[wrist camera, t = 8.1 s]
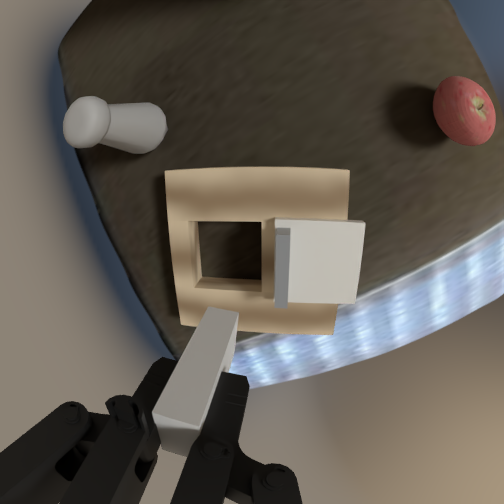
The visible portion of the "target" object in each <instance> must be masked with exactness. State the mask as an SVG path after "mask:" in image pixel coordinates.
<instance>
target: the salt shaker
mask: <svg viewBox="0 0 504 504" xmlns="http://www.w3.org/2000/svg"><path fill="white" fill-rule="evenodd" d="M167 131H168V128H167V125H166V117H165V115H164V113H163V112H162V110H161V108H159V107H157V106H155V105H154V104H152V103H127V104H110V105H107V103H106V102H105V101H104V100H102V99H100V98H98V97H94V96H87V97H81V98H78V99H77V100H76V101H75V102H74V103H72V104H71V106H70V108H69V109H68V111H67V113H66V114H65V118H64V122H63V133H64V136H65V139H66V141H67V142H68V143H69V144H70V145H71V146H73V147H75V148H88V147H93V146H94V145H96V144H97V143H100V144H104V145H107V146H111V147H114V148H117V149H120V150H124V151H127V152H130V153H133V154H144V153H147V152H149V151H151V150H153V149H155V148H156V147H157V146H158V145H159V144H160V143H161V141H162V140H163V138H164V136H165V134H166V132H167Z"/></svg>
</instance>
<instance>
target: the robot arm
mask: <svg viewBox="0 0 504 504" xmlns="http://www.w3.org/2000/svg"><path fill="white" fill-rule="evenodd" d="M238 317H239V312H234V311H229V310H224V309H219V308H214V307H209V306H208V308H207V310H206V312H205V314H204V315H203V317H202V319H201V321H200V323H199V325H198V326H197V328H196V330H195V332H194V334H193V336H192V338H191V339H190V341H189V343H188V345H187V347H186V349H185V351H184V352H183V354H182V356H181V358H180V360H179V361H175V360H172V359H168V358H165V357H162V358H160V359H159V360H158V361H156V362H154V363H153V364H152V366H151V368H150V369H149V371H148V373H147V374H146V375H145V377H144V379H143V381H142V382H141V383H140V385H139V387H138V388H137V390H136V391H135V393H134V395H133V396H132V397H131V396H126V395H117V396H114V397H112V398H110V399H108V401H106V402H105V404H106V407H107V409H108V411H109V414H110V415H108V414H99V413H93V412H88V411H87V409H86V408H85V407H84V406H83V405H82V404H80V403H78V402H74V401H71V402H66V403H64V404H62V405H60V406H59V407H58V408H56V409H55V410H54V411H53V412H51V413H50V414H49V415H48V416H46V417H45V418H44V419H42V420H41V421H40V422H39V423H38V424H36V425H35V426H34V427H32V428H31V429H30V430H29V431H27V432H26V433H25V434H23V435H22V436H21V437H20V438H19V439H17V440H16V441H15V442H13V443H12V444H11V445H10V446H8V447H7V448H6V449H4V450H3V451H2V452H1V453H0V504H58V503H59V502H60V503H59V504H139V502H140V500H141V497H142V495H143V493H144V490H145V488H146V486H147V483H148V481H149V479H150V477H151V474H152V472H153V469H154V467H155V465H156V463H157V458H158V455H157V451H158V449H159V446H160V444H161V447H162V449H163V450H166V451H169V452H173V453H175V454H179V455H182V456H186V457H187V460H186V462H185V465H184V468H183V470H182V473H181V476H180V479H179V481H178V484H177V487H176V489H175V492H174V495H173V497H172V500H171V503H170V504H223V503H224V499H225V497H226V498H228V499H230V500H232V501H234V502H236V503H238V504H302V500H301V495H300V491H299V487H298V482H297V478H296V476H295V474H294V472H293V471H292V470H290V469H289V468H288V467H286V466H284V465H281V464H273V463H271V464H266V465H264V464H262V463H259V462H257V461H255V460H253V459H251V458H249V457H248V456H246V455H245V454H244V453H243V452H242V450H241V449H240V447H239V443H238V439H239V435H240V430H241V425H242V421H243V417H244V412H245V407H246V402H247V397H248V392H249V387H250V386H249V383H248V380H247V377H246V376H242V375H237V374H232V373H228V372H229V369H230V366H231V363H232V359H233V356H234V350H235V342H236V333H237V325H238Z"/></svg>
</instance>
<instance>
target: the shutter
mask: <svg viewBox="0 0 504 504" xmlns="http://www.w3.org/2000/svg"><path fill="white" fill-rule="evenodd" d="M364 232H365V222H364V221H359V220H339V219H316V218H287V217H275V249H274V299H273V302H275V305H274V308H287V305H288V302H294V303H329V304H355V299H356V293H357V287H358V281H359V274H360V266H361V259H362V251H363V242H364Z"/></svg>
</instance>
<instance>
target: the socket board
mask: <svg viewBox="0 0 504 504" xmlns="http://www.w3.org/2000/svg"><path fill="white" fill-rule="evenodd" d="M349 173H350V170H346V169H334V168H315V167H281V166H245V167H211V168H191V169H176V170H169V171H165V185H166V201H167V214H168V226H169V236H170V246H171V255H172V264H173V272H174V280H175V287H176V294H177V301H178V307H179V314H180V320H181V325H187V326H196V327H197V326H198V325H199V323H200V321H201V319H202V317H203V315H204V314H205V312H206V310H207V308H208V306H209V307H214V308H219V309H224V310H229V311H234V312H239V317H238V325H237V331H249V332H264V333H283V334H313V335H333V332H334V326H335V320H336V314H337V308H338V304H329V303H294V302H288V305H287V308H274V305H275V302H273V299H274V249H275V217H287V218H316V219H339V220H347V215H348V198H349ZM198 221H242V222H262V280H252V279H232V278H214V277H202V272H201V260H200V248H199V234H198Z"/></svg>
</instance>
